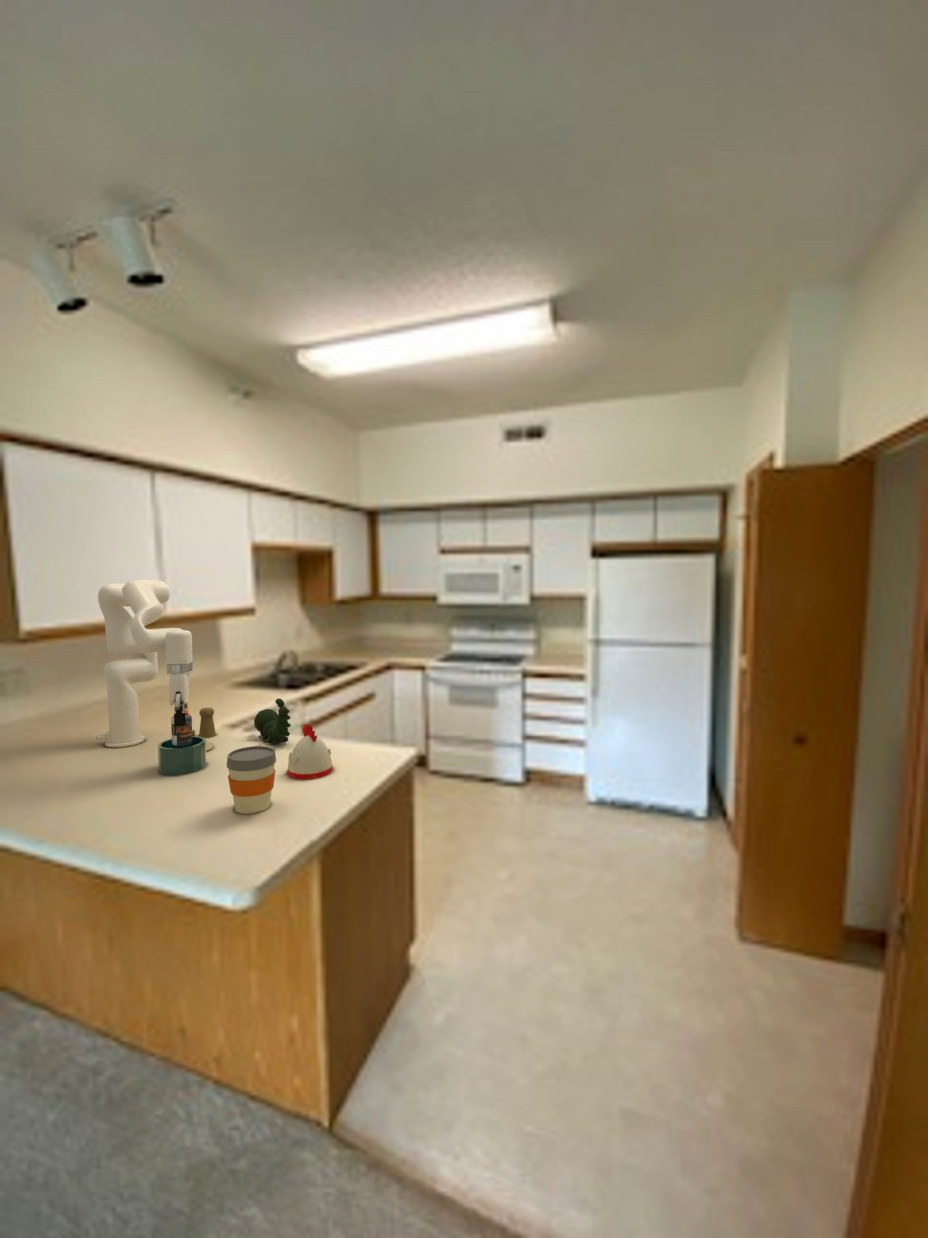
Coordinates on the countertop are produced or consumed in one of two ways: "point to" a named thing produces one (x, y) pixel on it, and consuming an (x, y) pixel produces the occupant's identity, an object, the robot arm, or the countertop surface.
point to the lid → (208, 744)
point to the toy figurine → (273, 723)
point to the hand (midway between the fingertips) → (181, 722)
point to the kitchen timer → (309, 757)
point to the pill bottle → (182, 731)
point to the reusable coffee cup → (251, 778)
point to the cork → (207, 723)
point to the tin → (182, 756)
